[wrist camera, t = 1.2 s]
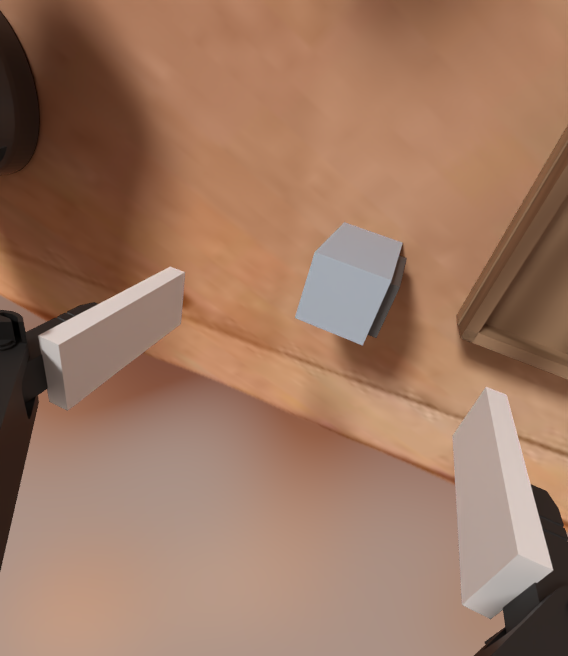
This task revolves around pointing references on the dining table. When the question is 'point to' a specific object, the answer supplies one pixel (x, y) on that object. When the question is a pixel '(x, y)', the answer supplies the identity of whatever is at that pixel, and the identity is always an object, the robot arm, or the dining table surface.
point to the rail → (528, 278)
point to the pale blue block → (352, 283)
